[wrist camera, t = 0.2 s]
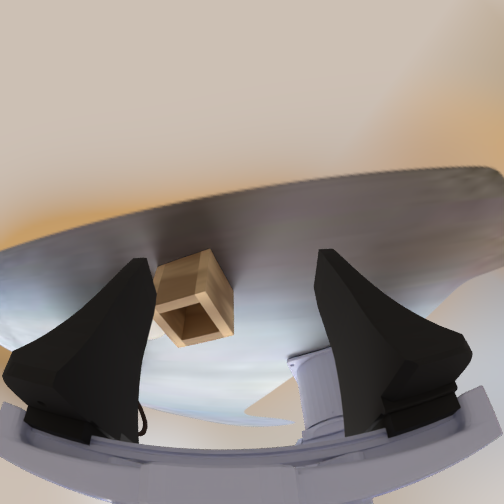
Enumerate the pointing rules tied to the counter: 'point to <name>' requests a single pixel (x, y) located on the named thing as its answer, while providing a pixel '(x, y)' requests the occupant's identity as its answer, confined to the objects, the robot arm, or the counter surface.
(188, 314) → the hollow wooden cube
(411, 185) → the counter surface
